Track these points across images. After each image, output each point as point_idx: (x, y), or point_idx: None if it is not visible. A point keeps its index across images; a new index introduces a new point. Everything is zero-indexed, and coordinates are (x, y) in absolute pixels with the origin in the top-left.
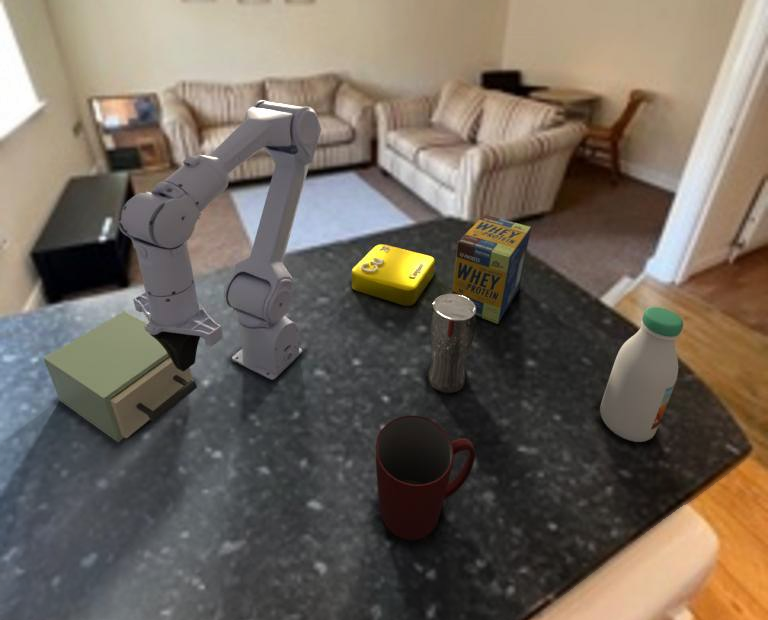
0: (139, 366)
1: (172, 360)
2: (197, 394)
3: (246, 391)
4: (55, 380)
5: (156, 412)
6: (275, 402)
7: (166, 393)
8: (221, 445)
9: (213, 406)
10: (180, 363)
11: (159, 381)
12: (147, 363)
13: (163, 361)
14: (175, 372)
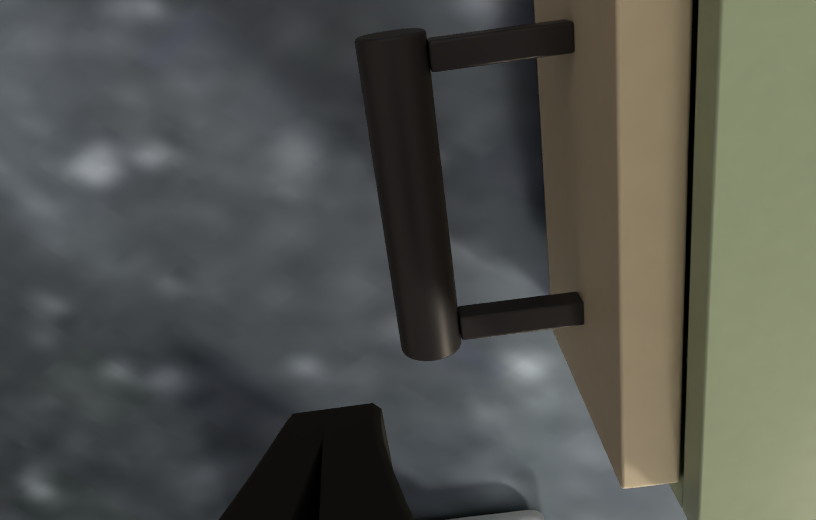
0: (780, 212)
1: (366, 460)
2: None
3: None
4: None
5: (378, 76)
6: (162, 477)
7: (561, 209)
8: (127, 206)
9: (365, 308)
10: (244, 488)
11: (592, 231)
12: (748, 270)
13: None
14: (588, 333)
